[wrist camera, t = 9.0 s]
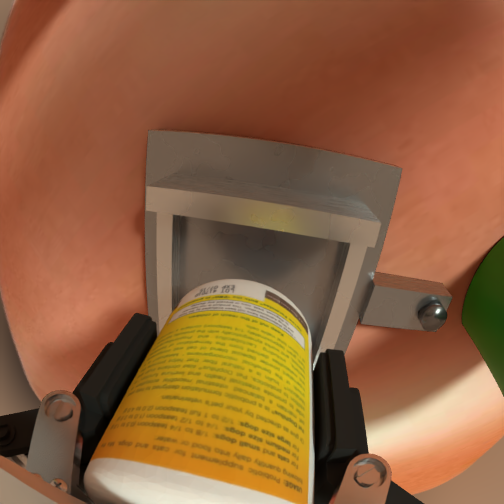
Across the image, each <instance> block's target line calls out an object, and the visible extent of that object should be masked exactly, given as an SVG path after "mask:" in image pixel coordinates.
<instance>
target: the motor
mask: <svg viewBox="0 0 504 504" xmlns="http://www.w3.org/2000/svg"><path fill="white" fill-rule="evenodd" d="M462 324H463V326H464V327H465V329H466V331H467V332H468V334H469V335H470V337H471V339H472V340H473V342H474V344H475V345H476V347H477V349H478V350H479V352H480V354H481V355H482V357H483V359H484V361H485V362H486V364H487V366H488V368H489V369H490V371H491V373H492V375H493V377H494V379H495V380H496V382H497V384H498V386H499V388H500V390H501V392H502V394H503V396H504V238H502V239H501V240H500V241H499V242H498V243H497V244H496V245H495V246H494V248H493V249H492V250H491V251H490V252H489V254H488V255H487V256H486V258H485V259H484V260H483V262H482V263H481V265H480V267H479V268H478V270H477V272H476V273H475V275H474V277H473V279H472V282H471V284H470V286H469V289H468V291H467V294H466V297H465V301H464V305H463V311H462Z"/></svg>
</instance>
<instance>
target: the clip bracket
mask: <svg viewBox="0 0 504 504" xmlns="http://www.w3.org/2000/svg"><path fill="white" fill-rule="evenodd" d="M401 173H402V168H400V167H398V166H395V165H392V164H388V163H384V162H380V161H376V160H372V159H367V158H363V157H359V156H354V155H350V154H345V153H340V152H335V151H331V150H325V149H320V148H315V147H309V146H304V145H298V144H292V143H286V142H279V141H273V140H266V139H259V138H251V137H243V136H234V135H225V134H215V133H204V132H192V131H177V130H158V129H156V130H148V143H147V159H146V183H145V262H146V286H147V302H148V316H150V317H152V321H154V322H156V325H157V337H158V335H159V333H160V332H161V330H162V328H163V327H164V325H165V323H166V321H167V319H168V318H169V316H170V314H171V313H172V311H173V310H174V308H175V307H176V305H177V304H178V303H179V302H180V300H181V299H182V298H183V297H184V296H185V295H186V294H188V293H189V292H190V291H192V290H193V289H195V288H197V287H199V286H201V285H203V284H206V283H209V282H212V281H217V280H223V279H243V280H249V281H254V282H258V283H261V284H264V285H266V286H269V287H271V288H273V289H275V290H277V291H278V292H280V293H281V294H283V295H284V296H286V297H287V298H288V299H289V300H290V301H292V302H293V303H294V304H295V306H296V307H297V308H298V309H299V310H300V312H301V313H302V315H303V316H304V318H305V320H306V322H307V324H308V327H309V330H310V335H311V342H312V359H313V370H314V368H315V365H316V362H317V359H318V357H319V354H320V352H325V351H326V349H335V350H342V351H343V352H344V355H345V352H346V350H347V347H348V345H349V342H350V340H351V337H352V335H353V332H354V330H355V327H356V325H357V322H358V319H360V322H361V324H366V325H374V326H383V327H392V328H401V329H411V330H422V331H433V332H436V331H437V329H439V328H440V327H441V326H442V325H443V324H444V323H445V321H446V319H447V312H446V311H447V309H448V306H449V304H450V302H451V300H452V298H453V297H452V295H451V294H450V293H449V291H448V290H447V289H446V288H445V286H444V285H443V284H442V283H438V282H432V281H426V280H420V279H414V278H408V277H402V276H397V275H391V274H385V273H379V272H375V270H376V267H377V264H378V261H379V257H380V254H381V251H382V247H383V244H384V240H385V237H386V233H387V230H388V226H389V222H390V219H391V215H392V211H393V207H394V203H395V199H396V195H397V190H398V186H399V182H400V177H401Z"/></svg>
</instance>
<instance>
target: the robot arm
mask: <svg viewBox="0 0 504 504" xmlns="http://www.w3.org/2000/svg"><path fill="white" fill-rule="evenodd" d="M156 339H157V325H156V322H154V321H152V317H150V316H147V315H143V314H139V313H135V314H134V315H133V317H132V318H131V320H130V321H129V322H128V324H127V325H126V326H125V328H124V329H123V330H122V332H121V333H120V335H119V336H118V337H117V339H116V340H115V341H114V343H113V342H110V343H108V344H107V345H106V346H105V348H104V349H103V350H102V352H101V353H100V354H99V356H98V357H97V359H96V360H95V361H94V363H93V364H92V366H91V367H90V368H89V370H88V371H87V373H86V374H85V375H84V377H83V378H82V380H81V381H80V383H79V384H78V385H77V387H76V388H75V390H74V391H73V393H71V392H68V391H64V390H57V391H54V392H51V393H49V394H48V395H46V396H45V397H44V398H43V400H42V402H41V404H40V407H39V408H38V409H34V410H29V411H24V412H20V413H14V414H9V415H4V416H0V504H94V503H93V501H92V500H91V499H90V498H89V496H88V494H87V492H86V490H85V487H84V482H83V481H84V474H85V471H86V469H87V467H88V465H89V462H90V459H91V458H92V456H93V454H94V452H95V450H96V447H97V445H98V444H99V442H100V440H101V438H102V436H103V435H104V433H105V431H106V429H107V427H108V425H109V424H110V422H111V420H112V418H113V416H114V414H115V412H116V410H117V409H118V407H119V405H120V403H121V401H122V399H123V398H124V396H125V394H126V392H127V389H128V387H129V386H130V384H131V382H132V381H133V379H134V378H135V376H136V374H137V372H138V370H139V368H140V366H141V364H142V363H143V361H144V360H145V358H146V356H147V354H148V353H149V351H150V349H151V347H152V346H153V344H154V342H155V340H156ZM313 382H314V414H315V486H314V504H424V503H422V502H421V501H419V500H418V499H416V498H415V497H414V496H412V495H411V494H409V493H408V492H407V491H405V490H404V489H402V488H401V487H400V486H398V485H397V484H395V483H394V482H393V481H391V475H392V472H391V468H390V466H389V464H388V463H387V461H385V460H384V459H383V458H382V457H380V456H377V455H375V454H369V452H368V445H367V437H366V430H365V423H364V417H363V410H362V404H361V398H360V393H359V390H358V389H357V388H349V383H348V376H347V370H346V363H345V357H344V352H343V351H342V350H335V349H326V351H325V352H320V354H319V357H318V359H317V362H316V365H315V368H314V370H313Z"/></svg>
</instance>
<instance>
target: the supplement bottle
mask: <svg viewBox="0 0 504 504" xmlns="http://www.w3.org/2000/svg"><path fill="white" fill-rule="evenodd" d="M83 482H84V487H85V490H86V492H87V494H88V496H89V498H90V499H91V500H92V501H93V503H94V504H314V486H315V414H314V382H313V359H312V342H311V335H310V330H309V327H308V324H307V322H306V320H305V318H304V316H303V315H302V313H301V312H300V310H299V309H298V308H297V307H296V306H295V304H294V303H293V302H292V301H290V300H289V299H288V298H287V297H286V296H284V295H283V294H281V293H280V292H278V291H277V290H275V289H273V288H271V287H269V286H266V285H264V284H261V283H258V282H254V281H249V280H243V279H223V280H217V281H212V282H209V283H206V284H203V285H201V286H199V287H197V288H195V289H193V290H192V291H190V292H189V293H188V294H186V295H185V296H184V297H183V298H182V299H181V300H180V302H179V303H178V304H177V305H176V307H175V308H174V310H173V311H172V313H171V314H170V316H169V318H168V319H167V321H166V323H165V325H164V327H163V328H162V330H161V332H160V333H159V335H158V337H157V339H156V340H155V342H154V344H153V346H152V347H151V349H150V351H149V353H148V354H147V356H146V358H145V360H144V361H143V363H142V364H141V366H140V368H139V370H138V372H137V374H136V376H135V378H134V379H133V381H132V382H131V384H130V386H129V387H128V389H127V392H126V394H125V396H124V398H123V399H122V401H121V403H120V405H119V407H118V409H117V410H116V412H115V414H114V416H113V418H112V420H111V422H110V424H109V425H108V427H107V429H106V431H105V433H104V435H103V436H102V438H101V440H100V442H99V444H98V445H97V447H96V450H95V452H94V454H93V456H92V458H91V459H90V462H89V465H88V467H87V469H86V471H85V474H84V481H83Z"/></svg>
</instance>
